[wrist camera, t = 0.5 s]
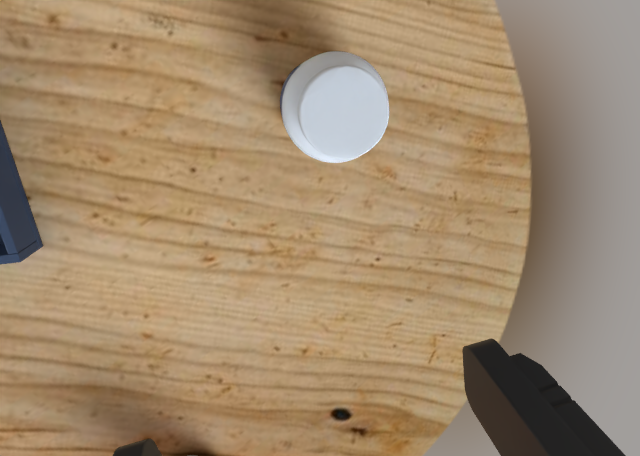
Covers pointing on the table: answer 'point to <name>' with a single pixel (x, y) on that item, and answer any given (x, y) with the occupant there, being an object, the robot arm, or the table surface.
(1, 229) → the blue tray
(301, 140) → the pill bottle
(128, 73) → the table surface
